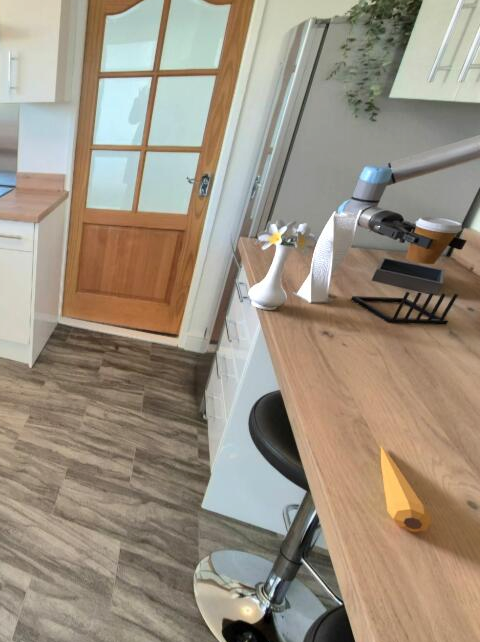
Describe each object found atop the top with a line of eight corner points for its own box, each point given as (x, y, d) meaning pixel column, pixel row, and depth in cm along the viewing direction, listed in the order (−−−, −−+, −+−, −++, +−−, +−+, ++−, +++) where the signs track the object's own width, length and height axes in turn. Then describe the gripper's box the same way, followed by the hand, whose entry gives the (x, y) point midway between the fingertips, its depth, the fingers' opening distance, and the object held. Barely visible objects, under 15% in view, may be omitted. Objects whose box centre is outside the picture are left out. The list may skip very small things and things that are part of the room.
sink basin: (377, 268, 151) (382, 257, 149) (438, 281, 141) (444, 270, 139) (371, 280, 141) (376, 269, 140) (435, 295, 132) (442, 283, 130)
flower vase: (294, 301, 128) (327, 219, 116) (282, 323, 116) (317, 234, 104) (245, 288, 135) (271, 210, 124) (229, 308, 123) (256, 224, 112)
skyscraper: (336, 305, 126) (378, 211, 113) (310, 305, 125) (349, 211, 112) (313, 292, 133) (351, 203, 120) (289, 293, 132) (323, 203, 120)
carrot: (414, 542, 61) (445, 527, 59) (382, 519, 62) (410, 504, 60) (382, 460, 77) (405, 446, 75) (357, 443, 78) (378, 429, 76)
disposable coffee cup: (390, 256, 130) (410, 217, 124) (411, 253, 133) (430, 215, 127) (429, 268, 122) (451, 227, 116) (450, 264, 125) (472, 224, 119)
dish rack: (403, 301, 128) (418, 273, 124) (446, 324, 115) (464, 295, 111) (350, 299, 129) (363, 272, 125) (388, 322, 116) (403, 293, 112)
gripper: (409, 233, 141) (478, 258, 121) (343, 231, 142) (400, 256, 122) (420, 210, 138) (493, 232, 118) (353, 209, 139) (413, 230, 119)
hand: (446, 244), depth 120 cm, fingers closed on disposable coffee cup, 8 cm apart
